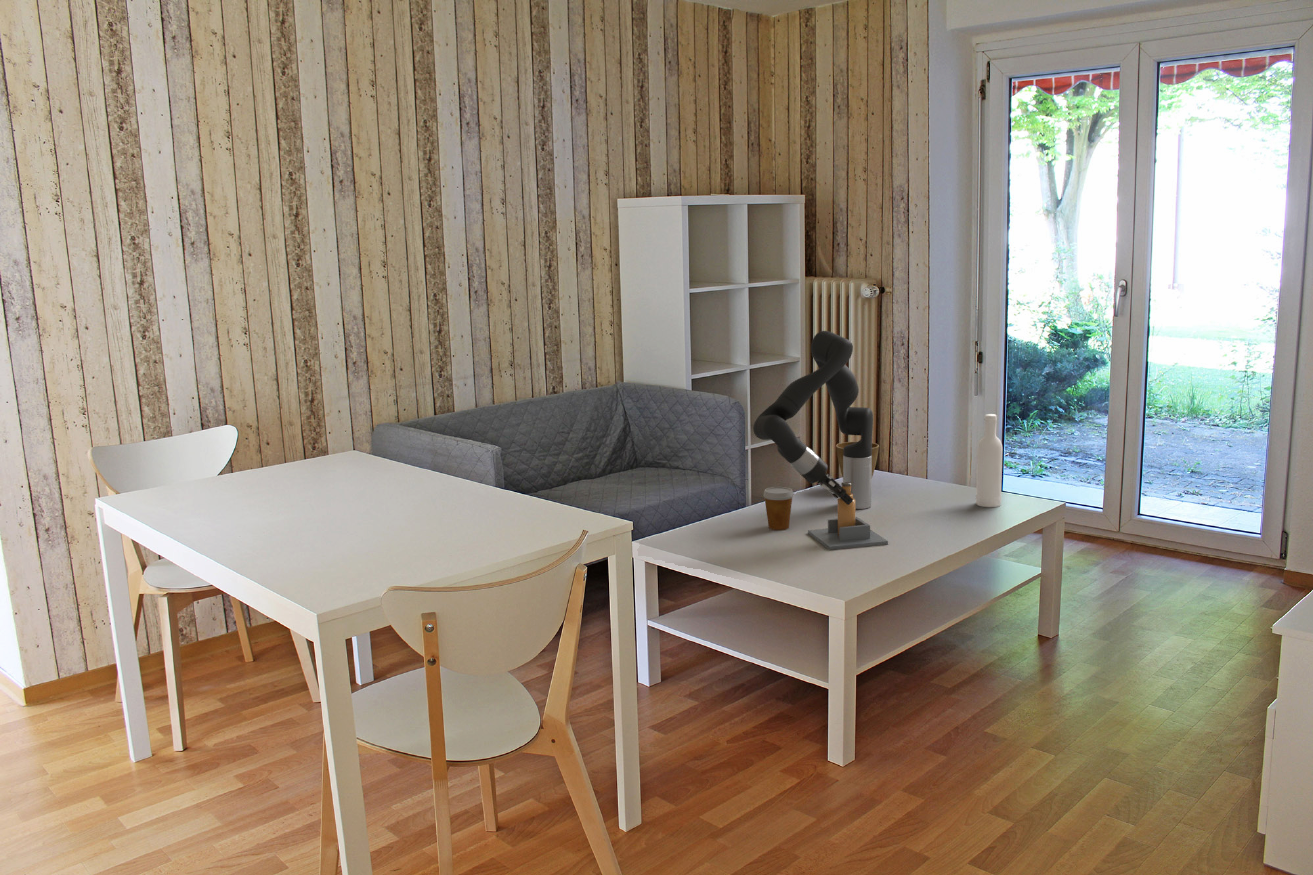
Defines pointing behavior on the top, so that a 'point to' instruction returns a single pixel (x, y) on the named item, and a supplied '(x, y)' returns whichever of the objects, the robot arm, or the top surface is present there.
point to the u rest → (847, 535)
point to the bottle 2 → (989, 466)
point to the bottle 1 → (846, 509)
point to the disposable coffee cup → (778, 507)
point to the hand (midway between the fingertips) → (844, 499)
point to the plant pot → (842, 445)
